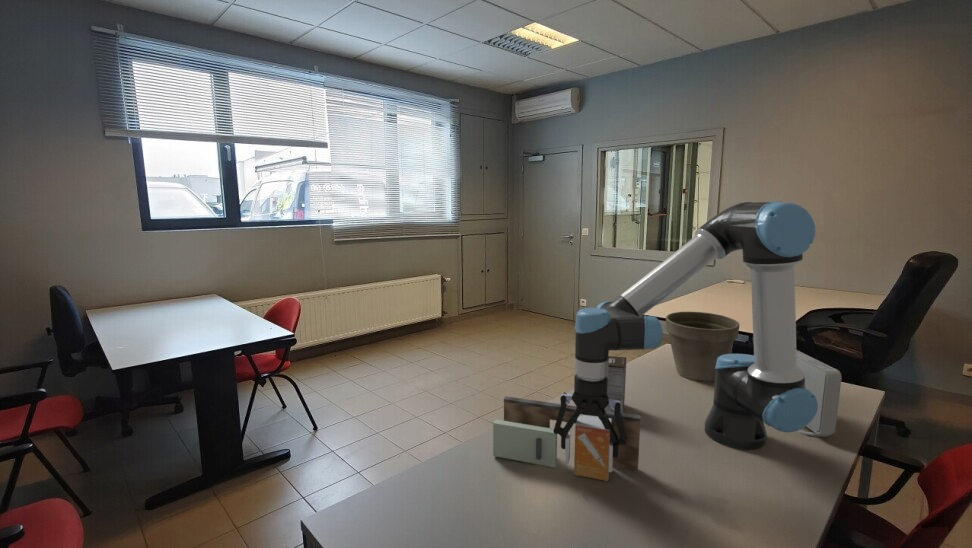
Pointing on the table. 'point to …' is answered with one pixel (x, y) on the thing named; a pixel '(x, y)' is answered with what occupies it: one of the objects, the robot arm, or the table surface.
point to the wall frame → (545, 411)
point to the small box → (591, 448)
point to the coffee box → (616, 380)
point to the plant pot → (700, 342)
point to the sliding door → (525, 443)
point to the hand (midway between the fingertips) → (588, 464)
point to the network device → (821, 393)
